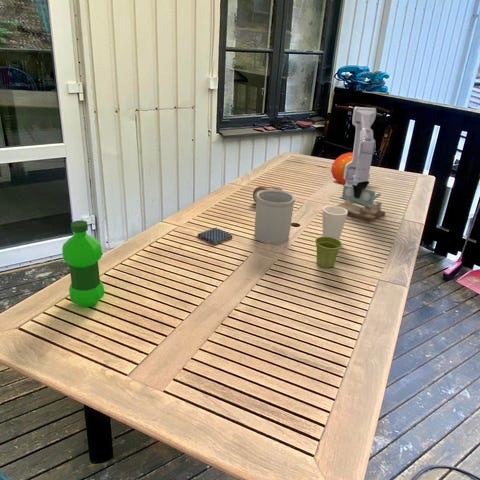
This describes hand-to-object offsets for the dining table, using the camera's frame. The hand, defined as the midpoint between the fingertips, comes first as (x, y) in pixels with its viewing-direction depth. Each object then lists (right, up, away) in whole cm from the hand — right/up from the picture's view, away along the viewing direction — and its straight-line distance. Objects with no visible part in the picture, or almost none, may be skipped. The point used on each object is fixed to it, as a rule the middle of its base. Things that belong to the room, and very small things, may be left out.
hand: (358, 197), depth 199 cm
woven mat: (-63, -19, -26) cm, 71 cm away
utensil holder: (-41, -18, -23) cm, 50 cm away
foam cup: (-17, -20, -23) cm, 35 cm away
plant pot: (-23, -28, -41) cm, 55 cm away
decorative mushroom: (+7, +13, +48) cm, 50 cm away
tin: (-40, -3, +9) cm, 41 cm away
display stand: (+2, -7, +6) cm, 9 cm away
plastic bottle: (-98, -38, -70) cm, 126 cm away
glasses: (+2, 0, +4) cm, 4 cm away
